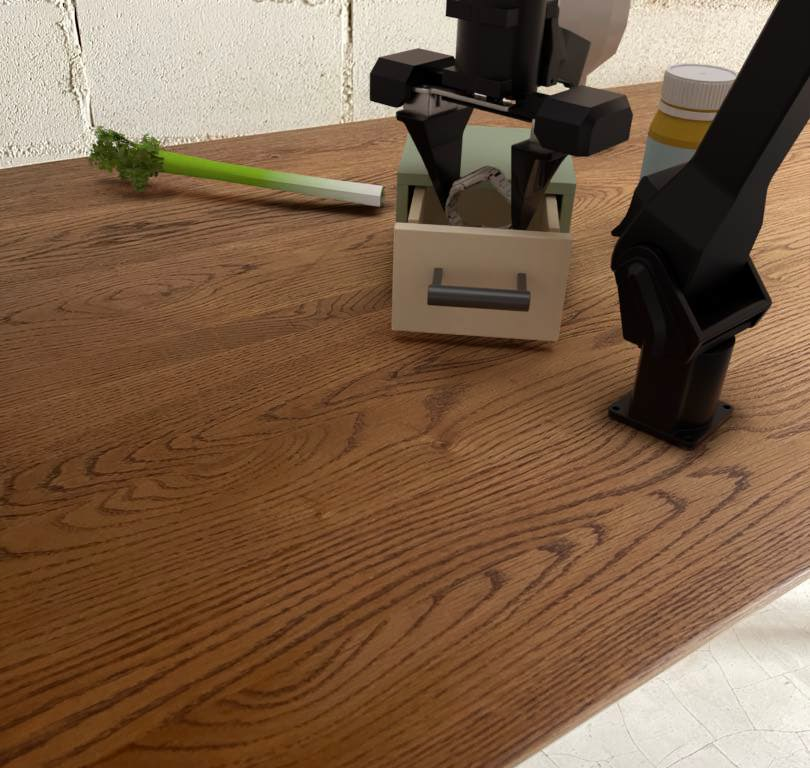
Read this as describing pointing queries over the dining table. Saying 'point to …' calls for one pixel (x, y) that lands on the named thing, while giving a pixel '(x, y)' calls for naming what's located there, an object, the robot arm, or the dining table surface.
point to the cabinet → (478, 152)
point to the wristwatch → (469, 181)
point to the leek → (215, 170)
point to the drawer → (479, 269)
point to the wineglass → (595, 27)
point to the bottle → (684, 113)
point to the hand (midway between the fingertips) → (484, 222)
